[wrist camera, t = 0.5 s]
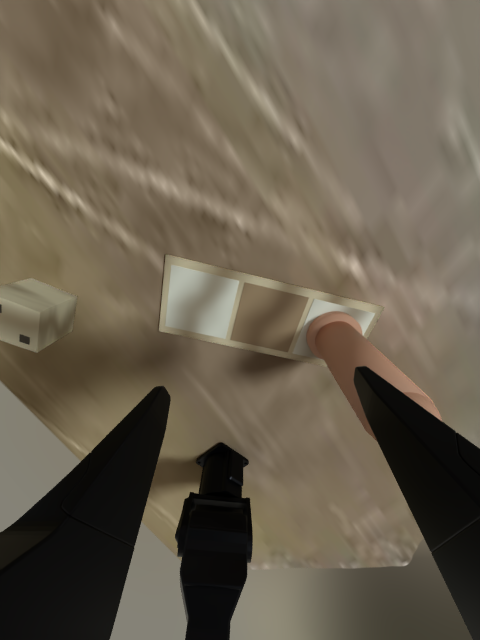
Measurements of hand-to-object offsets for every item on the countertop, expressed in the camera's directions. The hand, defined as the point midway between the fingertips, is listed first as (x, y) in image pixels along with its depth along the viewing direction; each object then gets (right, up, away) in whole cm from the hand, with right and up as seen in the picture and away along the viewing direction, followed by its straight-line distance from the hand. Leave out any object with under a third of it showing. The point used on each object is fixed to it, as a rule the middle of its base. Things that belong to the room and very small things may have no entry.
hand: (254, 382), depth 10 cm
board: (+3, +3, +15) cm, 16 cm away
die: (-23, +5, +15) cm, 28 cm away
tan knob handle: (+10, +1, +15) cm, 19 cm away
